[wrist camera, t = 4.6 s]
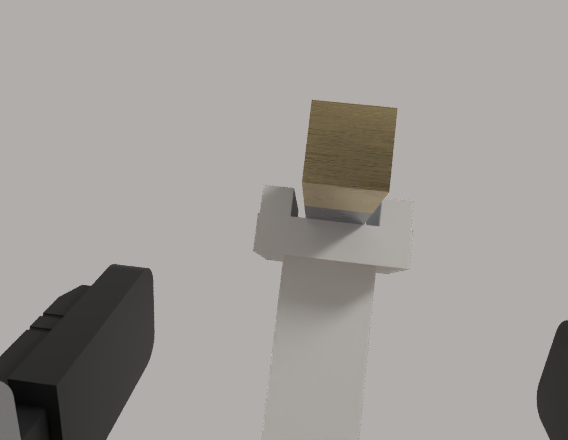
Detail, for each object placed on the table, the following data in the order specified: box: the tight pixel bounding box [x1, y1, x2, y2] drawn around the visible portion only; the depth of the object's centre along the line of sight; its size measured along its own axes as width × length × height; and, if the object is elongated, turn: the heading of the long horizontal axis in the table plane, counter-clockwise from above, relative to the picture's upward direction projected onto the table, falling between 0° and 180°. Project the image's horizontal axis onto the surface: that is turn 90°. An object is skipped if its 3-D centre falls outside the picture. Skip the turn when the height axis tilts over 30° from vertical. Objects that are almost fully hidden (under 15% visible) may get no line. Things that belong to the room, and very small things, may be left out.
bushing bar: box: [302, 100, 397, 225], centre depth 29 cm, size 3×23×3 cm, turn 177°
